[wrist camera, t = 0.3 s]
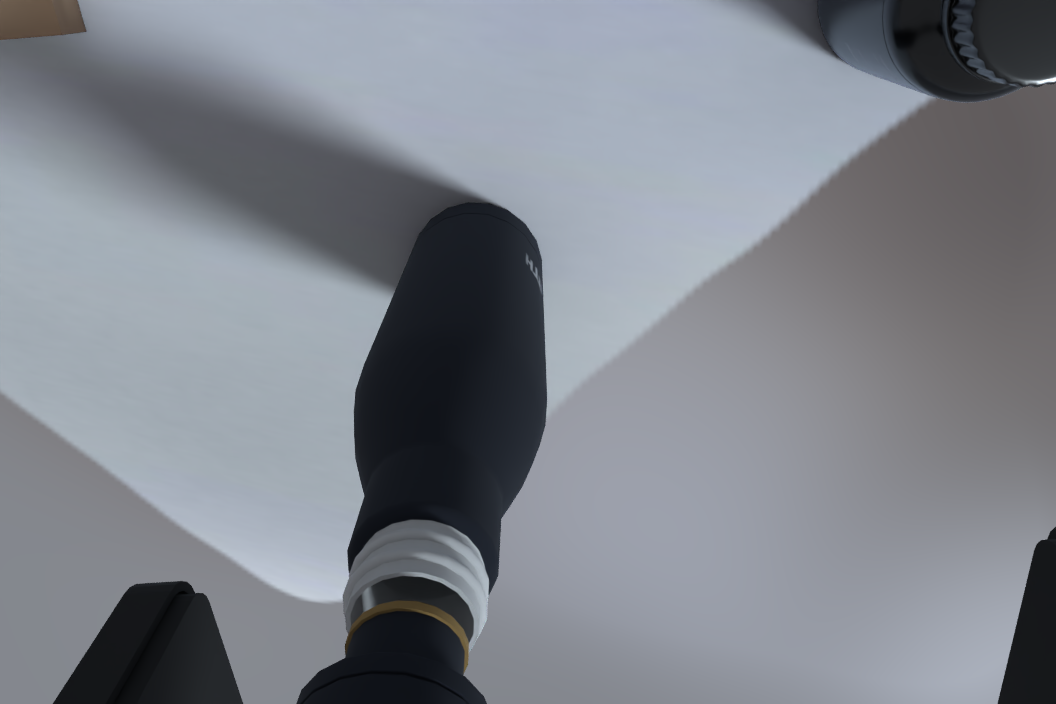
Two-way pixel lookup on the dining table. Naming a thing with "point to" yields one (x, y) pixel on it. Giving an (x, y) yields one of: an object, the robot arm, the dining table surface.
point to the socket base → (39, 18)
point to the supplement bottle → (946, 43)
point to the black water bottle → (440, 458)
